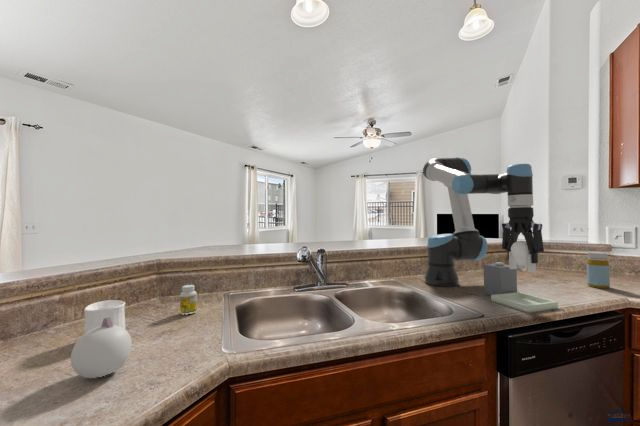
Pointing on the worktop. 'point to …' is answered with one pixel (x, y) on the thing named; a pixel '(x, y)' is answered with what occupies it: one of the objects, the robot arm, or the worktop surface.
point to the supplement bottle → (188, 299)
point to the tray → (524, 302)
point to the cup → (104, 314)
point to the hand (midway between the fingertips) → (522, 270)
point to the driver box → (499, 279)
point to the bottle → (598, 270)
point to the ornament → (101, 350)
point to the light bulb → (520, 254)
